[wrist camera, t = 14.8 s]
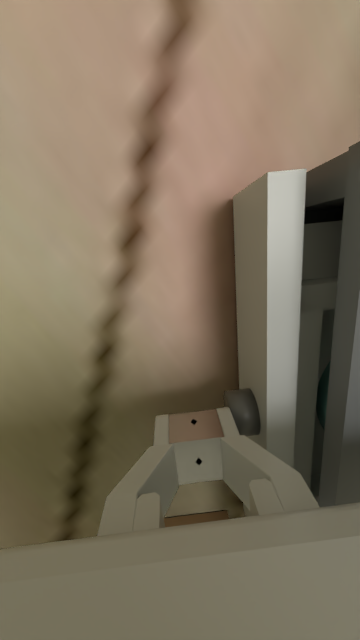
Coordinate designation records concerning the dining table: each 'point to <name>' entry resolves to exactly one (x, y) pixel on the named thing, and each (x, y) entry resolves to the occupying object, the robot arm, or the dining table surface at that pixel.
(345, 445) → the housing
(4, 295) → the dining table surface
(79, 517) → the dining table surface
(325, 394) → the teal flat dome
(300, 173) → the light grey drawer
